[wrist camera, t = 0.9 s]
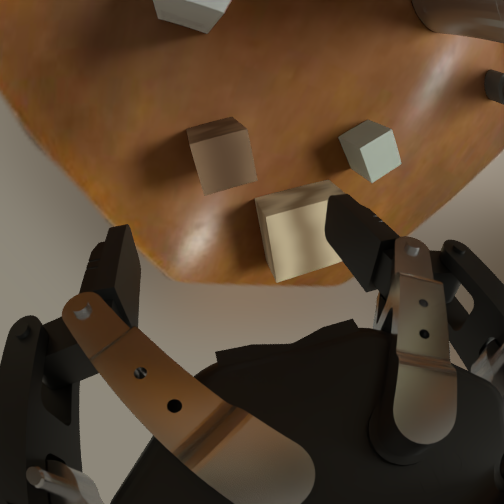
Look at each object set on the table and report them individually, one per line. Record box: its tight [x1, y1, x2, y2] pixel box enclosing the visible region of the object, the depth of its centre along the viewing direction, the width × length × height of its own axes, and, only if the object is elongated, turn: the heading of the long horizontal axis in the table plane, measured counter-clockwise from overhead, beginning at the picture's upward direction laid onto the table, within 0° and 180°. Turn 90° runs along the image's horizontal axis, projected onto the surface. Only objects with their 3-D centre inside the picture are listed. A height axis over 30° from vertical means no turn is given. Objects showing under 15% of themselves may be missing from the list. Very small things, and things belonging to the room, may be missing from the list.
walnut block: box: [186, 117, 258, 196], centre depth 27 cm, size 5×5×7 cm
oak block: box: [254, 180, 345, 282], centre depth 37 cm, size 10×10×5 cm
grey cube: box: [338, 120, 401, 183], centre depth 32 cm, size 5×5×5 cm
